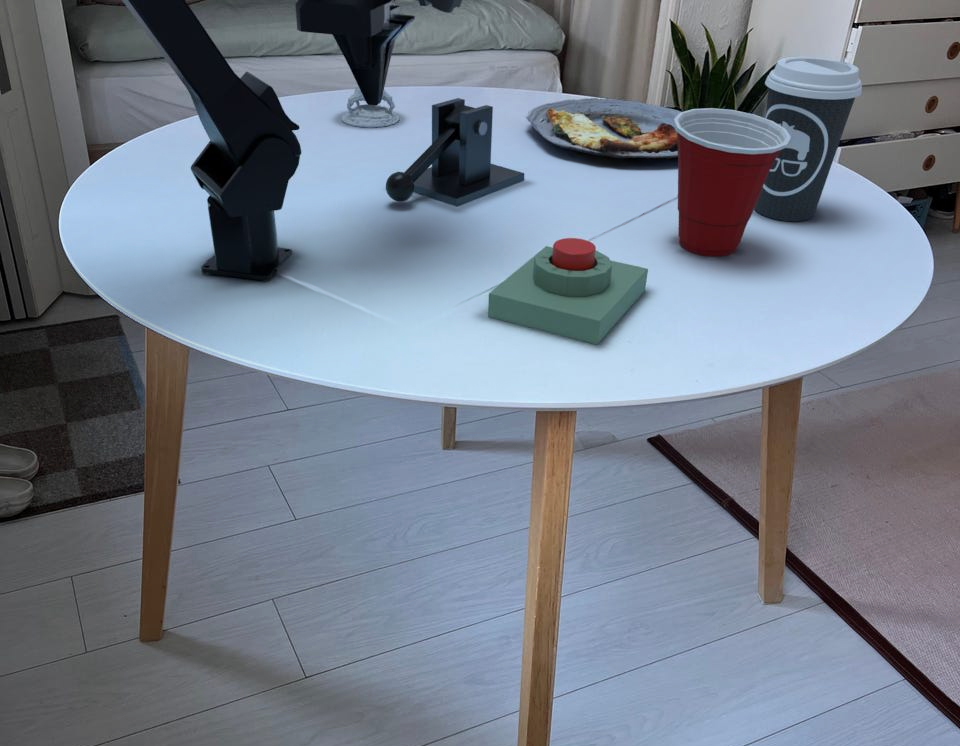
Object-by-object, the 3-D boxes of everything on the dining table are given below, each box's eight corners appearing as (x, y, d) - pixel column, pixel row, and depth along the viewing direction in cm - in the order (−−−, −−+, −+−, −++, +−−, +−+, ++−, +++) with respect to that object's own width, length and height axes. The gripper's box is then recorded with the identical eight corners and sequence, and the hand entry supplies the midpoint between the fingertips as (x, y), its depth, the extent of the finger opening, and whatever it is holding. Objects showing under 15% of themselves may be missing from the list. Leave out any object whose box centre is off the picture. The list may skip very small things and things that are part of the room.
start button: (584, 277, 76) (586, 257, 75) (544, 268, 78) (546, 248, 77) (599, 262, 79) (602, 243, 78) (561, 253, 80) (563, 234, 79)
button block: (597, 345, 74) (602, 300, 72) (487, 317, 78) (489, 272, 75) (645, 291, 83) (651, 249, 81) (544, 267, 86) (547, 226, 84)
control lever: (405, 210, 96) (397, 187, 94) (385, 203, 98) (376, 181, 95) (483, 129, 101) (476, 105, 98) (462, 124, 102) (455, 100, 100)
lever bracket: (456, 209, 98) (458, 125, 93) (395, 189, 103) (393, 107, 97) (524, 183, 106) (529, 103, 100) (464, 165, 110) (466, 88, 105)
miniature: (392, 129, 121) (391, 90, 119) (335, 125, 122) (332, 87, 119) (404, 113, 128) (403, 76, 125) (349, 109, 128) (347, 72, 126)
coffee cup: (842, 227, 98) (883, 77, 89) (755, 226, 97) (788, 75, 88) (809, 196, 105) (844, 55, 96) (728, 195, 105) (756, 54, 96)
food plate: (744, 169, 113) (750, 139, 111) (564, 177, 108) (567, 147, 106) (663, 114, 132) (666, 88, 130) (508, 119, 127) (509, 92, 125)
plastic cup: (706, 277, 86) (732, 147, 79) (633, 237, 93) (650, 115, 86) (787, 255, 91) (818, 131, 84) (711, 220, 98) (733, 102, 91)
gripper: (431, -83, 65) (430, 142, 74) (491, -100, 80) (484, 89, 89) (285, -93, 67) (301, 127, 76) (370, -108, 82) (375, 78, 91)
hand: (373, 104), depth 83 cm, fingers closed
